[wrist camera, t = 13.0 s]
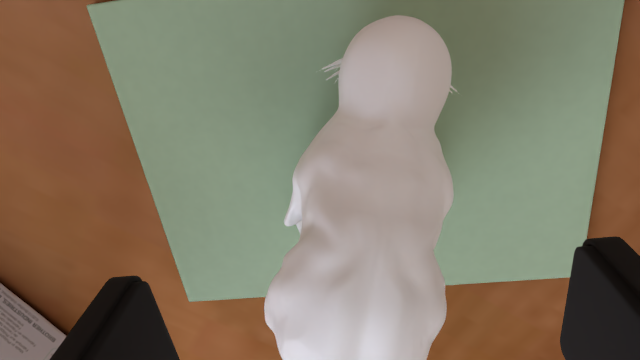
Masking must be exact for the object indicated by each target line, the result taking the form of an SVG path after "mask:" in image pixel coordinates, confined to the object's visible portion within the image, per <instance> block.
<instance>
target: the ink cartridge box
mask: <svg viewBox="0 0 640 360" xmlns="http://www.w3.org/2000/svg"><path fill="white" fill-rule="evenodd" d="M65 338H66V335H65V334H64V333H62V332H61V331H60V330H58V329H57V328H56V327H55V326H54V325H52V324H51V323H50V322H49V321H47V320H46V319H45V318H44V317H42V316H41V315H40V314H39V313H37V312H36V311H35V310H34V309H32V308H31V307H30V306H29V305H27V304H26V303H25V302H23V301H22V300H21V299H20V298H18V297H17V296H16V295H15V294H13V293H12V292H11V291H10V290H8V289H7V288H6V287H5V286H3V285H2V284H1V283H0V360H50V358H51V357H52V355H53V354H54V353H55V351H56V350H57V349H58V347H59V346H60V345H61V343H62V342H63V341H64V339H65Z"/></svg>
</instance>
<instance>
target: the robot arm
mask: <svg viewBox="0 0 640 360" xmlns="http://www.w3.org/2000/svg"><path fill="white" fill-rule="evenodd" d="M560 345H561V350H562V353H563V355H564V357H565V359H566V360H640V256H639V255H638V254H637V253H636V252H635V251H634V250H633V249H632V248H631V247H630V246H629V245H628V244H627V243H626V242H625V241H624V240H623V239H621V238H620V237H604V238H592V239H586V240H585V241H584V242H583V245H582V246H581V247H577V248H576V249H575V252H574V257H573V263H572V269H571V276H570V282H569V288H568V294H567V300H566V306H565V312H564V318H563V325H562V331H561V337H560ZM50 360H180V359H179V357H178V354H177V352H176V350H175V347H174V345H173V342H172V340H171V337H170V335H169V333H168V330H167V328H166V325H165V323H164V320H163V318H162V316H161V313H160V311H159V308H158V306H157V303H156V301H155V298H154V296H153V294H152V291H151V289H150V286H149V285H148V283H147V282H144V281H142V280H141V278H140V277H138V276H125V277H113V278H111V279H109V280H108V281H107V282H106V283H105V285H104V286H103V287H102V289H101V290H100V292H99V293H98V294H97V296H96V297H95V298H94V300H93V301H92V302H91V304H90V305H89V307H88V308H87V309H86V311H85V312H84V313H83V315H82V316H81V317H80V319H79V320H78V321H77V323H76V324H75V326H74V327H73V328H72V330H71V331H70V332H69V334H68V335H67V336H66V338H65V339H64V341H63V342H62V343H61V345H60V346H59V347H58V349H57V350H56V351H55V353H54V354H53V355H52V357H51V358H50Z"/></svg>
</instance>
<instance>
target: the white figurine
mask: <svg viewBox="0 0 640 360" xmlns="http://www.w3.org/2000/svg"><path fill="white" fill-rule="evenodd" d="M334 65H335V66H334ZM332 66H333V67H332ZM329 67H331V68H329ZM338 67H340V70H339V71H337V72H336V73H334V74H333V75H332V76H330V77H329V78H327V79H326V80H328V79H330V78H332V77H334V76H336V75H338V74H339V75H338V76H339V79H338V78H337V79H338V88H339V107H338V110H337V111H336V113H335V114H334V115H333V117H332V118H331V119H330V120H329V121H328V122H327V123H326V124H325V125H324V127H323V128H322V129H321V130H320V131H319V132H318V134H317V135H316V136H315V138H314V139H313V140H312V142H311V143H310V145H309V146H308V148H307V149H306V150H305V152H304V153H303V154H302V156H301V157H300V159H299V162H298V164H297V165H296V168H295V170H294V173H293V178H292V183H293V192H292V197H291V201H290V205H289V208H288V211H287V213H286V216H285V219H284V224H285V225H286V226H293V225H295V224H296V226H297V228H298V230H299V232H300V238H299V241H298V243H297V244H296V245H295V246H294V247H293V248H292V249H291V250H290V251H289V252H287V254H286V255H285V256H284V258H283V262H282V266H281V269H280V270H279V272H278V273H277V274H276V275H275V277H274V278H273V280H272V282H271V284H270V285H269V288H268V293H267V295H266V299H265V304H264V312H265V321H266V324H267V325H268V326H269V327H270V329H271V330H272V331H273V332H274V334H275V337H276V341H277V346H278V349H279V353H280V355H281V357H282V359H283V360H426V359H427V356H428V353H429V349H430V346H431V344H432V342H433V340H434V339H435V337H436V336H437V334H438V333H439V331H440V329H441V327H442V326H443V324H444V321H445V319H446V298H445V280H444V277H443V275H442V273H441V270H440V267H439V265H438V262H437V260H436V258H435V255H434V251H433V250H434V248H435V246H436V244H437V241H438V238H439V235H440V232H441V229H442V224H443V220H444V218H445V216H446V214H447V213H448V211H449V209H450V208H451V206H452V203H453V197H454V191H453V182H452V177H451V173H450V171H449V168H448V166H447V164H446V161H445V159H444V156H443V153H442V149H441V144H440V142H439V140H438V138H437V136H436V134H435V131H434V126H435V123H436V121H437V119H438V117H439V115H440V113H441V111H442V108H443V106H444V104H445V102H446V99H447V96H448V93H449V91H450V88H452V89H453V90H455V91H456V92H457V90H456V89H455V88H453V86H451V76H452V66H451V58H450V54H449V51H448V49H447V46H446V44H445V43H444V41H443V39H442V38H441V36H440V35H439V34H438V33H437V32H436V31H435V30H434V29H433V28H432V27H431V26H429V25H428V24H426V23H425V22H423V21H421V20H419V19H417V18H414V17H409V16H402V15H394V16H389V17H385V18H382V19H379V20H377V21H374V22H372V23H370V24H368V25H367V26H365V27H364V28H363V29H361V30H360V31H359V32H358V33H357V34H356V35H355V37H354V38H353V39H352V41H351V42H350V44H349V46H348V47H347V49H346V51H345V54H344V56H343V58H341V59H339V60H337V61H335V62H333V63H332V64H329V65H328V66H326V67H324V68H322V69H326V68H329V69H327V70H326V71H329V70H332V69H335V68H338ZM336 70H337V69H336ZM326 71H324V72H326ZM336 81H337V80H336ZM336 81H335V82H336ZM450 92H451V93H452V91H450ZM458 94H459V93H458Z"/></svg>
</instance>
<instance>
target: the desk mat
mask: <svg viewBox="0 0 640 360" xmlns="http://www.w3.org/2000/svg"><path fill="white" fill-rule="evenodd" d="M624 1H625V0H116V1H109V2H103V3H96V4H90V5H87V9H88V12H89V15H90V18H91V21H92V23H93V26H94V29H95V32H96V35H97V38H98V41H99V44H100V47H101V49H102V52H103V55H104V58H105V61H106V64H107V67H108V70H109V72H110V75H111V78H112V81H113V84H114V87H115V90H116V93H117V96H118V98H119V101H120V104H121V107H122V110H123V113H124V116H125V119H126V121H127V124H128V127H129V130H130V133H131V136H132V139H133V142H134V145H135V147H136V150H137V153H138V156H139V159H140V162H141V165H142V168H143V170H144V173H145V176H146V179H147V182H148V185H149V188H150V191H151V194H152V196H153V199H154V202H155V205H156V208H157V211H158V214H159V217H160V219H161V222H162V225H163V228H164V231H165V234H166V237H167V240H168V243H169V245H170V248H171V251H172V254H173V257H174V260H175V263H176V266H177V269H178V271H179V274H180V277H181V280H182V283H183V286H184V289H185V292H186V294H187V297H188V300H189V302H192V301H208V300H223V299H239V298H254V297H266V295H267V293H268V288H269V285H270V284H271V282H272V280H273V278H274V277H275V275H276V274H277V273H278V272H279V270H280V269H281V266H282V262H283V258H284V256H285V255H286V254H287V252H289V251H290V250H291V249H292V248H293V247H294V246H295V245H296V244H297V243H298V241H299V238H300V232H299V230H298V228H297V226H296V224H295V225H293V226H286V225H285V224H284V219H285V216H286V213H287V211H288V208H289V205H290V201H291V197H292V192H293V183H292V178H293V173H294V170H295V168H296V165H297V164H298V162H299V159H300V157H301V156H302V154H303V153H304V152H305V150H306V149H307V148H308V146H309V145H310V143H311V142H312V140H313V139H314V138H315V136H316V135H317V134H318V132H319V131H320V130H321V129H322V128H323V127H324V125H325V124H326V123H327V122H328V121H329V120H330V119H331V118H332V117H333V115H334V114H335V113H336V111H337V110H338V107H339V88H338V79H339V76H338V75H339V74H338V75H336V76H334V77H332V78H330V79H328V80H326V79H327V78H329V77H330V76H332V75H333V74H334V73H336V72H337V71H339V70H340V67H338V68H335V69H332V70H329V71H326V70H327V69H329V68H331V67H329V68H326V69H322V68H324V67H326V66H328V65H329V64H332V63H333V62H335V61H337V60H339V59H341V58H343V56H344V54H345V51H346V49H347V47H348V46H349V44H350V42H351V41H352V39H353V38H354V37H355V35H356V34H357V33H358V32H359V31H360V30H361V29H363V28H364V27H365V26H367V25H368V24H370V23H372V22H374V21H377V20H379V19H382V18H385V17H389V16H394V15H402V16H409V17H414V18H417V19H419V20H421V21H423V22H425V23H426V24H428V25H429V26H431V27H432V28H433V29H434V30H435V31H436V32H437V33H438V34H439V35H440V36H441V38H442V39H443V41H444V43H445V44H446V46H447V49H448V51H449V54H450V58H451V66H452V76H451V86H453V88H455V89H456V90H457V92H456V91H455V90H453V89H452V88H450V91H452V93H451V92H450V91H449V93H448V96H447V99H446V102H445V104H444V106H443V108H442V111H441V113H440V115H439V117H438V119H437V121H436V123H435V126H434V131H435V134H436V136H437V138H438V140H439V142H440V144H441V149H442V153H443V156H444V159H445V161H446V164H447V166H448V168H449V171H450V173H451V177H452V182H453V191H454V197H453V203H452V206H451V208H450V209H449V211H448V213H447V214H446V216H445V218H444V220H443V224H442V229H441V232H440V235H439V238H438V241H437V244H436V246H435V248H434V250H433V251H434V255H435V258H436V260H437V262H438V265H439V267H440V270H441V273H442V275H443V277H444V280H445V285H456V284H472V283H487V282H503V281H518V280H534V279H549V278H565V277H570V276H571V269H572V263H573V257H574V252H575V249H576V248H577V247H581V246H582V245H583V242H584V241H585V240H586V239H587V233H588V226H589V220H590V214H591V208H592V201H593V195H594V189H595V183H596V176H597V170H598V164H599V157H600V151H601V145H602V139H603V132H604V126H605V120H606V113H607V107H608V101H609V95H610V88H611V82H612V76H613V70H614V63H615V57H616V51H617V44H618V38H619V32H620V26H621V19H622V13H623V7H624ZM334 66H335V65H334ZM332 67H333V66H332ZM336 69H337V70H336ZM324 71H326V72H324ZM337 78H338V79H337ZM336 80H337V81H336ZM335 81H336V82H335ZM458 93H459V94H458Z"/></svg>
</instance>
